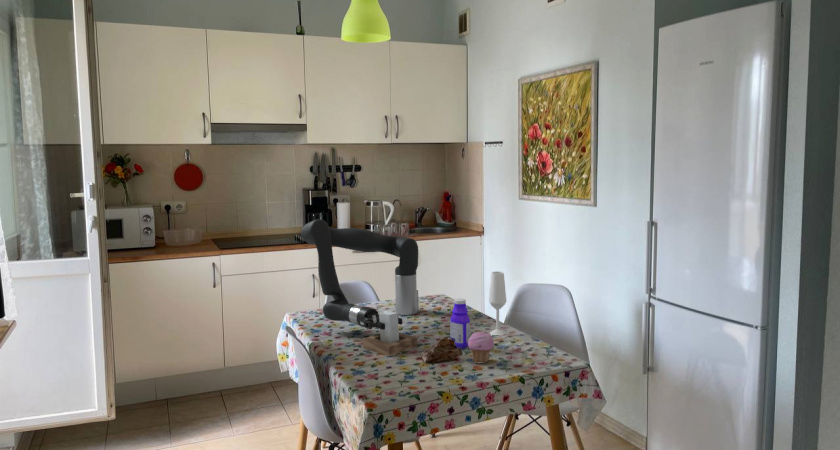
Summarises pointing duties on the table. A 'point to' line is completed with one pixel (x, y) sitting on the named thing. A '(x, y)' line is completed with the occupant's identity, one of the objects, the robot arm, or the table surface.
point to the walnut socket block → (389, 344)
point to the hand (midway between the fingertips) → (393, 324)
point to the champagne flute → (497, 297)
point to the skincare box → (389, 326)
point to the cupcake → (480, 346)
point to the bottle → (460, 324)
